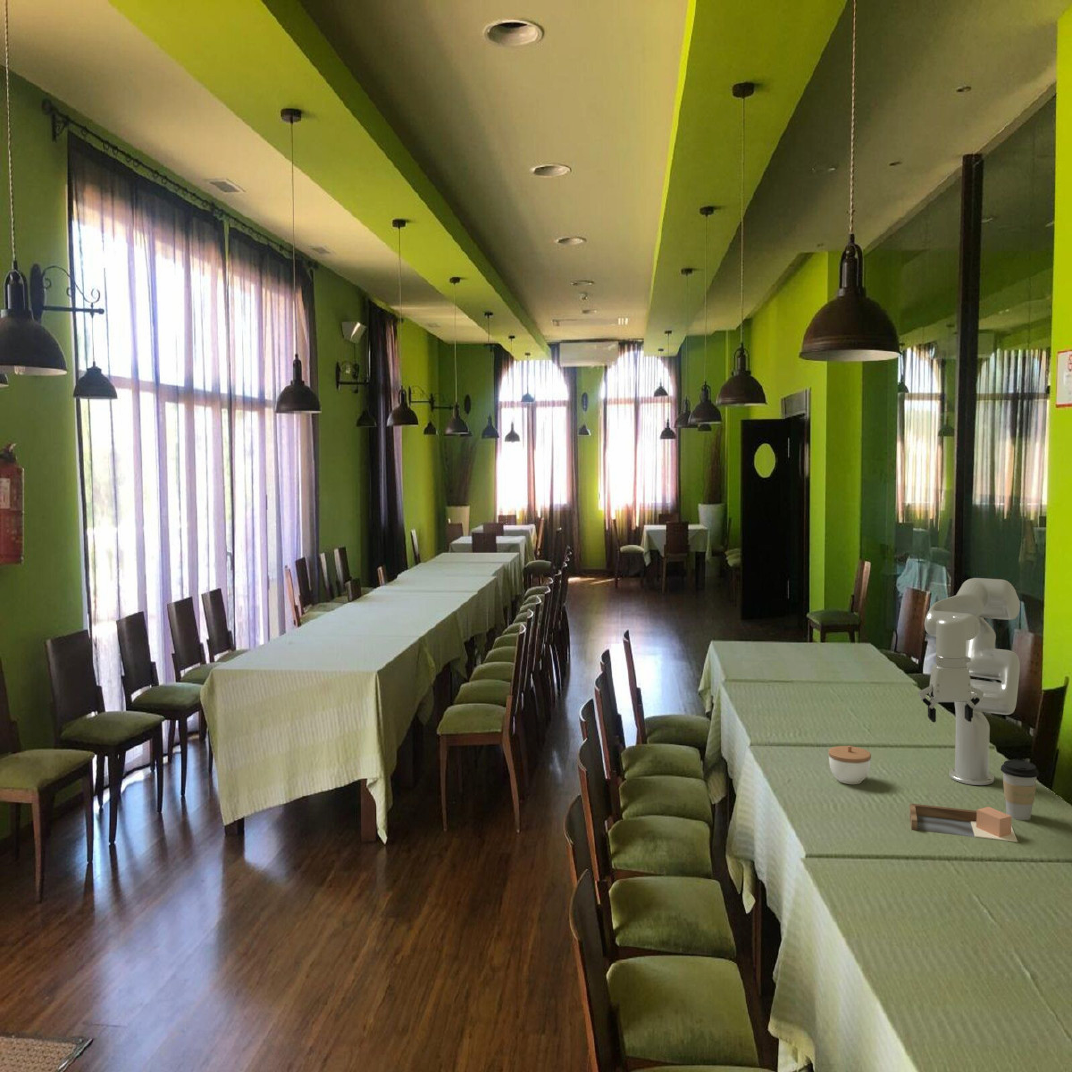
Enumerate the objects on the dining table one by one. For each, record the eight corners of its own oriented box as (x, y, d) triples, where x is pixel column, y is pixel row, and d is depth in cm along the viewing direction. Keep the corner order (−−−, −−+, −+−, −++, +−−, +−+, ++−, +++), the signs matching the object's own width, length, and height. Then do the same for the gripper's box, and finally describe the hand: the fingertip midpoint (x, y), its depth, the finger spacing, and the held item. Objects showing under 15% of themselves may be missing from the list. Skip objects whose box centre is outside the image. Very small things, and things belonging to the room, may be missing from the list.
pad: (970, 822, 239) (970, 821, 239) (1011, 826, 235) (1011, 825, 235) (974, 836, 229) (974, 835, 229) (1017, 842, 226) (1017, 841, 226)
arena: (909, 813, 246) (909, 803, 246) (1011, 825, 237) (1011, 814, 237) (911, 830, 235) (911, 819, 235) (1018, 843, 226) (1018, 832, 225)
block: (976, 827, 235) (976, 809, 234) (987, 824, 236) (988, 806, 236) (999, 837, 228) (999, 819, 228) (1011, 834, 230) (1011, 815, 230)
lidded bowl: (874, 788, 265) (874, 753, 264) (831, 786, 268) (831, 751, 267) (866, 774, 277) (867, 740, 276) (825, 772, 280) (826, 739, 279)
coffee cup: (1018, 825, 237) (1019, 772, 235) (991, 812, 246) (992, 761, 245) (1045, 821, 239) (1047, 768, 238) (1018, 808, 248) (1019, 757, 247)
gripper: (977, 657, 245) (976, 715, 247) (914, 658, 247) (914, 716, 249) (988, 664, 238) (987, 724, 240) (923, 665, 240) (923, 725, 242)
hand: (950, 720), depth 244 cm, fingers open, 9 cm apart
